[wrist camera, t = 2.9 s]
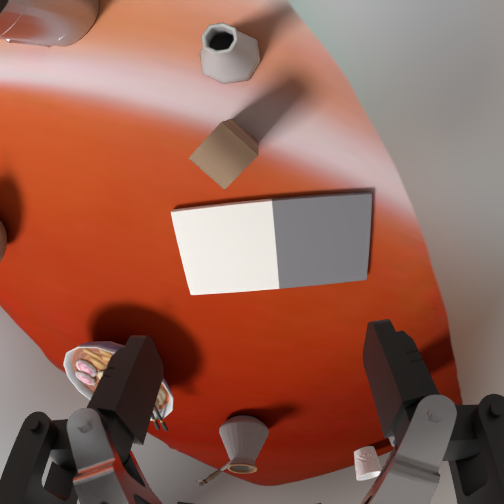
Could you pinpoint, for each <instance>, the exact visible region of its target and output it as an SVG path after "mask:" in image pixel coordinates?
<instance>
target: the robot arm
mask: <svg viewBox="0 0 504 504" xmlns="http://www.w3.org/2000/svg"><path fill="white" fill-rule="evenodd" d="M98 11H99V1H98V0H0V39H5V40H7V42H9V43H19V44H29V45H38V46H46V47H50V46H52V45H55V46H68V45H71V44H73V43H75V42H77V41H78V40H80V39H81V38H82V37H83V36H84V35H85V34H86V33H87V32H88V31H89V30H90V28H91V27H92V25H93V24H94V22H95V20H96V17H97V14H98ZM363 363H364V368H365V371H366V374H367V378H368V381H369V384H370V388H371V391H372V394H373V398H374V401H375V405H376V408H377V412H378V416H379V419H380V423H381V427H382V430H383V434H384V438H387V437H391V436H394V438H395V441H396V444H395V446H394V448H393V450H392V452H391V454H390V456H389V458H388V460H387V461H386V463H385V465H384V467H383V469H382V470H381V472H380V474H379V476H378V478H377V479H376V481H375V483H374V484H373V486H372V488H371V489H370V490H369V492H368V493H367V495H366V496H365V498H364V499H363V501H362V502H361V504H429V503H430V501H431V499H432V497H433V495H434V493H435V490H436V488H437V486H438V483H439V480H440V474H438V471H439V467H440V465H441V462H442V461H448V462H449V466H450V470H451V474H452V479H453V483H454V488H455V493H456V498H457V503H458V504H504V397H503V396H501V395H498V394H490V395H487V396H486V397H484V398H483V399H482V400H481V402H480V403H479V405H455V404H454V403H453V402H452V401H451V400H450V399H449V398H447V397H445V396H442V395H440V394H439V392H438V390H437V388H436V386H435V384H434V382H433V379H432V377H431V375H430V373H429V371H428V369H427V367H426V365H425V363H424V361H423V360H422V357H421V355H420V353H419V352H418V349H417V347H416V345H415V343H414V341H413V339H412V338H411V337H410V336H408V335H407V334H406V333H405V332H404V331H399V332H396V331H395V329H394V327H393V325H392V323H391V321H390V320H389V319H385V320H379V321H372V322H369V323H368V326H367V332H366V338H365V343H364V349H363ZM163 376H164V366H163V362H162V360H161V358H160V355H159V353H158V351H157V348H156V346H155V344H154V341H153V339H152V337H151V336H148V335H131V336H130V337H129V339H128V341H127V343H126V345H125V347H124V348H119V349H118V350H117V351H116V352H115V353H114V354H113V355H112V356H111V358H110V360H109V362H108V364H107V366H106V369H105V370H104V372H103V374H102V377H101V379H100V381H99V383H98V385H97V387H96V389H95V391H94V393H93V395H92V398H91V400H90V402H89V404H88V406H87V408H82V409H79V410H77V411H75V412H74V413H73V414H72V415H71V416H70V418H69V419H65V420H53V421H52V420H51V419H50V418H49V417H48V416H47V415H46V414H45V413H43V412H34V413H32V414H30V415H29V416H28V417H27V418H26V419H25V421H24V422H23V425H22V427H21V429H20V432H19V434H18V436H17V438H16V441H15V443H14V445H13V448H12V450H11V453H10V455H9V458H8V460H7V463H6V466H5V468H4V471H3V474H2V477H1V480H0V504H77V500H78V499H79V502H80V504H162V502H161V501H160V500H159V499H158V497H157V496H156V495H155V494H154V493H153V491H152V490H151V488H150V487H149V485H148V483H147V481H146V479H145V477H144V475H143V473H142V472H141V469H140V467H139V466H138V463H137V461H136V459H135V457H134V455H133V453H132V451H131V447H132V443H134V444H140V445H143V444H144V440H145V436H146V433H147V430H148V426H149V423H150V419H151V416H152V413H153V409H154V406H155V403H156V399H157V396H158V393H159V390H160V386H161V383H162V380H163ZM48 458H50V459H51V460H52V464H51V467H50V470H49V473H48V476H47V479H46V482H45V485H44V488H43V486H42V481H41V480H42V476H43V473H44V470H45V467H46V463H47V461H48ZM177 504H191V503H184V502H178V503H177ZM319 504H321V503H319Z"/></svg>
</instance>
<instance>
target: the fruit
mask: <svg viewBox="0 0 504 504" xmlns="http://www.w3.org/2000/svg"><path fill="white" fill-rule="evenodd" d="M6 246H7V234H6V230H5V227H4V225H3V223H2V221H1V220H0V262H1V260H2V258H3V256H4V254H5V251H6Z"/></svg>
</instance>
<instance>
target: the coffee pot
mask: <svg viewBox="0 0 504 504" xmlns="http://www.w3.org/2000/svg"><path fill="white" fill-rule="evenodd" d="M219 433H220V435H221V438H222V440H223V443H224V445H225V448H226V450H227V453H228V455H229V458H230V460H231V461H230V462H228V463H227V464H226V465H225V466H223V467H222V468H221V469H219V470H217V471H216V472H214V473H213V474H211V475H209V476H208V478H206V479H205V480H203V482H201V483H200V484H198V483H197V482H196V481H195V482H196V483H197V484H198V485H199V486H202V485H203V484H205V483H207V482H208V481H210V480H212V479H214V478H215V477H216V476H217V475H219V474H220V473H221V472H222V471H223V470H225V469H226V468H227V469H228V470H229V471H232V472H235V473H253V472H255V471H257V467H256V466H255V463H254V461H255V460H256V458H257V456H258V454H259V452H260V450H261V448H262V446H263V444H264V442H265V440H266V438H267V436H268V434H269V432H268V429H267V427H266V426H265V424H264V423H262V422H261V421H259V420H258V419H257V418H255V417H252V416H245V415H243V416H235V417H232V418H230V419H229V420H227V421H226V422H224V423H223V424H222V426H221V427H220V429H219ZM199 481H200V480H199Z"/></svg>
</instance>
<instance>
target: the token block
mask: <svg viewBox="0 0 504 504" xmlns="http://www.w3.org/2000/svg"><path fill="white" fill-rule="evenodd" d="M257 156H258V142H257V141H256V140H255V139H254V138H252V137H251V136H250V135H249V134H248V133H247V132H246V131H245V130H244V129H243V128H241V127H240V126H239V125H238V124H237V123H236V122H235V121H234V120H232V119H229V120H226V121H224V122H221V123H220V124H219V125H218V126H217V127H216V129H215V130H214V131H213V132H212V133H211V134H210V135H209V136H208V137H207V138H206V139H205V141H204V142H203V143H202V144H201V145H200V146H199V147H198V148H197V149H196V151H195V152H194V153H193V154H192V155H191V156H190V157H189V159H190V160H191V161H192V162H193V163H195V164H196V165H197V166H198V167H199V168H200V169H202V170H203V171H204V172H205V173H206V174H207V175H208V176H210V177H211V178H212V179H213V180H214V181H215V182H216V183H218V184H219V185H220V186H221V187H222V188H223V189H224V190H225V189H226V188H227V187H228V186H229V185H230V184H231V183H232V182H233V181H234V180H235V179H236V177H237V176H238V175H239V174H240V173H241V172H242V171H243V170H244V169H245V168H246V167H247V166H248V165H249V164H250V163H251V162H252V161H253V160H254V159H255V158H256V157H257Z"/></svg>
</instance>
